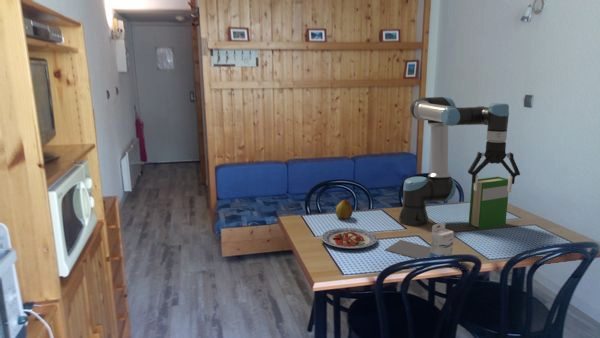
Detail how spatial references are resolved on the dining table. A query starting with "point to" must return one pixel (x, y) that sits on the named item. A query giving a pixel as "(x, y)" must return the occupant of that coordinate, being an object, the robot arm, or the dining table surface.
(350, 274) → the dining table surface
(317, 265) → the dining table surface
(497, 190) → the hardback book
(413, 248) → the mat
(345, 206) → the fruit
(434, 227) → the ink box
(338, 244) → the ceramic plate
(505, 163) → the robot arm
